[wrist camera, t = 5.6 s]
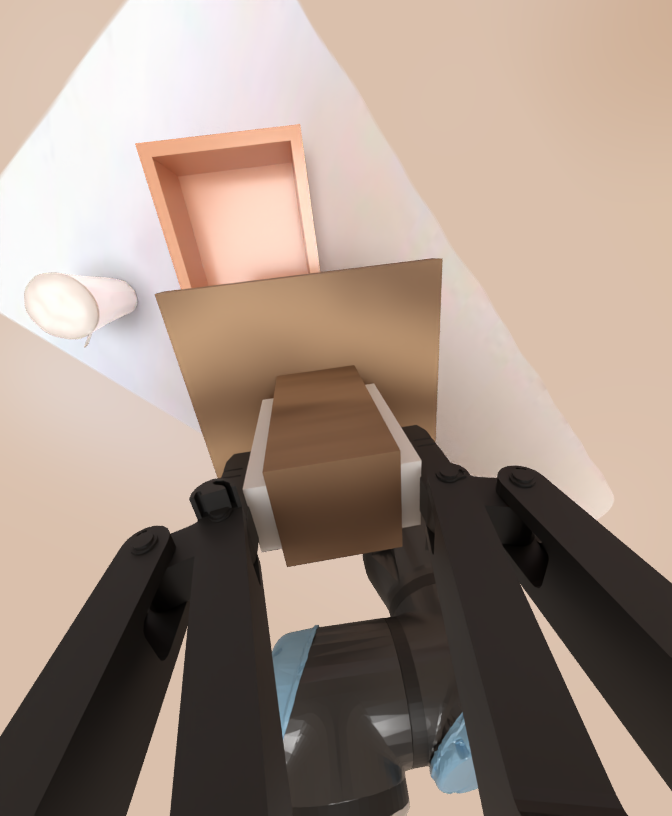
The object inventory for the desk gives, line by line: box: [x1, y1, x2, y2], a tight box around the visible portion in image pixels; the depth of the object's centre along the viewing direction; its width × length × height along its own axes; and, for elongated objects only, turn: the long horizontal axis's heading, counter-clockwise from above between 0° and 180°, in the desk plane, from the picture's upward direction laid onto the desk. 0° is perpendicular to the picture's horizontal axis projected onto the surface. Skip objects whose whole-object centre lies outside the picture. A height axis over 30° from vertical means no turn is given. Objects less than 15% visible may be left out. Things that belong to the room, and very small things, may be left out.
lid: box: [155, 258, 442, 567], centre depth 14 cm, size 13×13×9 cm
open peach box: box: [135, 124, 320, 289], centre depth 26 cm, size 11×11×6 cm
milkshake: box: [24, 273, 138, 348], centre depth 25 cm, size 4×5×10 cm
